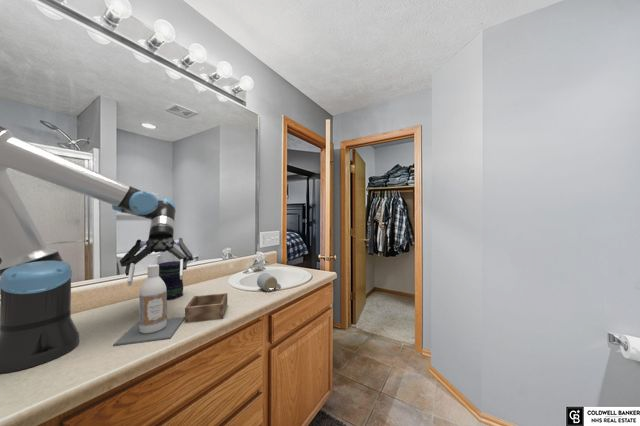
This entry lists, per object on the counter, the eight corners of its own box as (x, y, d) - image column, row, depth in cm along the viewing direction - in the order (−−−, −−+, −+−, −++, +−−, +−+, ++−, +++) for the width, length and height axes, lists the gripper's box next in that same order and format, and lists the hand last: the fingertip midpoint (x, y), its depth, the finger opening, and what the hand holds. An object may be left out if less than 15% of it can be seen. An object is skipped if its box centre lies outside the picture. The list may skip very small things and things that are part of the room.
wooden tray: (184, 322, 77) (184, 308, 77) (194, 308, 88) (194, 296, 88) (223, 318, 80) (223, 304, 80) (227, 305, 92) (227, 293, 92)
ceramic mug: (264, 293, 105) (265, 277, 106) (256, 289, 111) (256, 273, 112) (284, 289, 113) (284, 273, 113) (275, 285, 119) (275, 270, 119)
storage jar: (159, 294, 104) (159, 262, 105) (184, 291, 109) (184, 260, 109) (154, 302, 95) (154, 266, 96) (181, 298, 100) (181, 264, 100)
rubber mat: (113, 346, 63) (113, 344, 63) (138, 323, 77) (138, 321, 77) (170, 338, 67) (170, 337, 67) (185, 318, 80) (185, 316, 80)
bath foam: (141, 337, 67) (140, 268, 67) (138, 328, 72) (138, 265, 72) (168, 328, 72) (168, 265, 72) (164, 321, 77) (164, 262, 77)
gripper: (198, 235, 95) (199, 280, 82) (121, 238, 83) (107, 292, 69) (199, 223, 90) (200, 269, 77) (117, 224, 78) (101, 279, 65)
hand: (156, 280), depth 73 cm, fingers open, 13 cm apart
